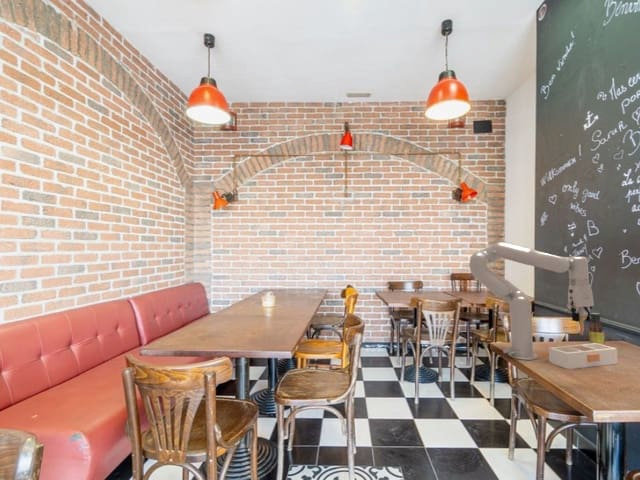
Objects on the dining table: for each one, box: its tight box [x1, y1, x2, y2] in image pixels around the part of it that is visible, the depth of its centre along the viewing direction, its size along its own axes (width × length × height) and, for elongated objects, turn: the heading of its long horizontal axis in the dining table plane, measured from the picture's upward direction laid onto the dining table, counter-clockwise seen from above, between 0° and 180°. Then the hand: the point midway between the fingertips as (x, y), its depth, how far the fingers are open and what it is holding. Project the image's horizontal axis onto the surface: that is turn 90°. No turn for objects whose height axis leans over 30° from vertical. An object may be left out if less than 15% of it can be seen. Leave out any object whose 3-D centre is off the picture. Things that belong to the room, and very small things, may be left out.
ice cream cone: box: [578, 307, 588, 336], centre depth 164 cm, size 6×6×15 cm
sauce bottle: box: [588, 312, 606, 346], centre depth 180 cm, size 7×6×20 cm
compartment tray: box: [548, 343, 619, 370], centre depth 163 cm, size 28×11×7 cm, turn 101°
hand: (581, 320), depth 164 cm, fingers closed on ice cream cone, 5 cm apart
